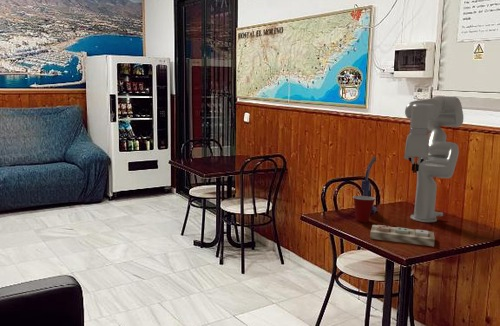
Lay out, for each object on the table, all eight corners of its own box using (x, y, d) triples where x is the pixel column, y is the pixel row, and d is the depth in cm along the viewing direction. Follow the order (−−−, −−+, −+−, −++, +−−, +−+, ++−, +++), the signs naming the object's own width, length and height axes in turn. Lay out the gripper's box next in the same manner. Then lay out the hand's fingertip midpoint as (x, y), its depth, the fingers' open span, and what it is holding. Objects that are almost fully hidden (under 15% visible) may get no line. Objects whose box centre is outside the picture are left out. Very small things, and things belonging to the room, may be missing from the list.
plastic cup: (372, 218, 251) (374, 194, 249) (375, 224, 240) (377, 199, 238) (350, 217, 252) (351, 193, 250) (352, 222, 241) (354, 198, 239)
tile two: (407, 236, 221) (408, 228, 220) (407, 239, 216) (408, 231, 215) (396, 234, 222) (396, 226, 222) (395, 237, 218) (396, 229, 217)
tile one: (427, 238, 218) (427, 230, 218) (427, 241, 214) (428, 233, 213) (415, 236, 220) (415, 228, 219) (415, 240, 215) (415, 231, 215)
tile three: (389, 233, 223) (389, 225, 223) (388, 236, 218) (389, 228, 218) (377, 232, 225) (378, 224, 224) (376, 235, 220) (377, 227, 219)
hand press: (371, 216, 256) (375, 161, 251) (354, 213, 259) (358, 159, 255) (379, 208, 272) (383, 157, 268) (363, 206, 276) (367, 155, 272)
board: (432, 238, 221) (433, 231, 221) (434, 246, 210) (434, 239, 209) (372, 231, 229) (372, 224, 228) (370, 238, 217) (370, 231, 217)
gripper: (436, 132, 226) (432, 172, 229) (401, 130, 231) (397, 169, 234) (436, 133, 219) (432, 175, 222) (400, 131, 224) (397, 172, 227)
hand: (414, 172), depth 228 cm, fingers closed
